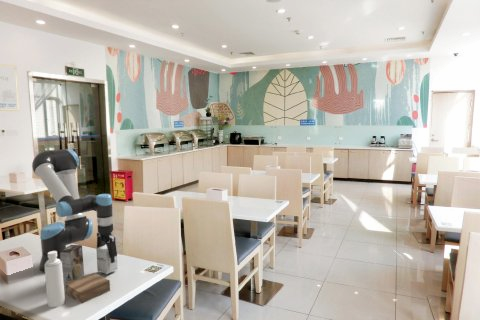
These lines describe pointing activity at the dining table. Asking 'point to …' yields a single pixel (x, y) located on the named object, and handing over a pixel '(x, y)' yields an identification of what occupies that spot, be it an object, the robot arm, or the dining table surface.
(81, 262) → the coffee box
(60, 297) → the white bottle
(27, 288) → the dining table surface
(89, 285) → the walnut block
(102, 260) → the supplement box
